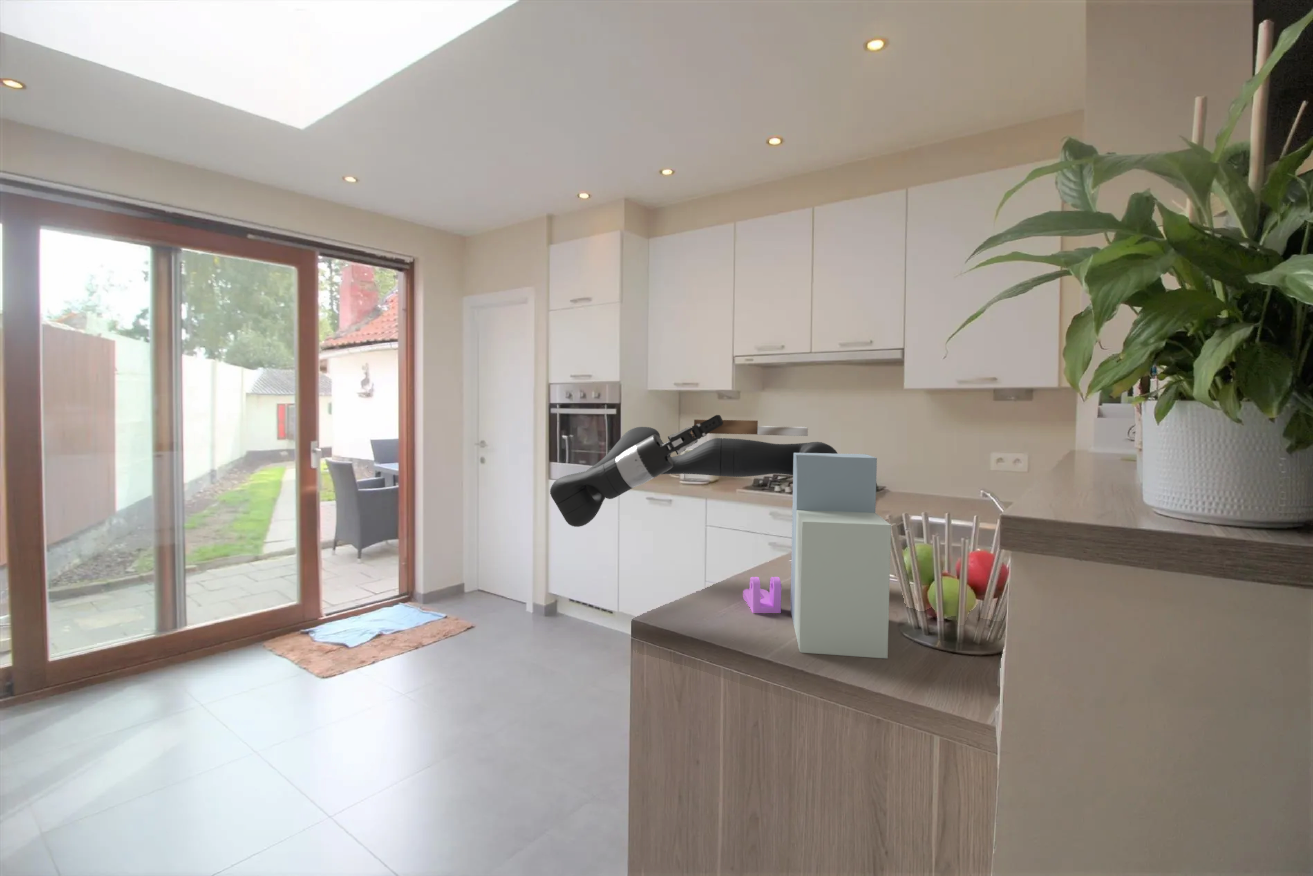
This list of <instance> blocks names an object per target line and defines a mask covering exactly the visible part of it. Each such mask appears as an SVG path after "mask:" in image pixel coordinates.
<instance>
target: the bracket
mask: <svg viewBox="0 0 1313 876" xmlns="http://www.w3.org/2000/svg"><path fill="white" fill-rule="evenodd" d="M781 581H782V580H781V579H780V577H779V576H770V578H769V591H768V590H767V589H764V588H761V581H760V577H759V576H750V578H749V588H744V589H743V590H742V598H743V601H744V602H745V601H746V602H747V603H746V602H745V603H746V605H747V604H748V605H747V606H749V607H750V608H749V607H748V608H749V610H750V609H751V610H750V611H751V613H752V614H753V613H781V612H782V611H781V610H782V609H781V607H782V582H781ZM760 597H761V598H760Z"/></svg>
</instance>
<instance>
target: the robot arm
mask: <svg viewBox="0 0 1313 876" xmlns="http://www.w3.org/2000/svg"><path fill="white" fill-rule="evenodd" d="M705 420H706V421H704V422H703V423H701V424H702V425H701V424H696V425H695V426H694V425H692V426H691V427H688V426H687V427H685V428H683V429H682V430H680V431H678V432H674V433H672V434H670V435H669V436H667V438H668V441H666V442H664V441H663V440H662V439H661V434H660V433H659V431H658V430H657V429H655V428H653V427H649V426H638V427H634V428H630V429H629V430H628V431H626V432H625V433H624V434H623V435H622V436H621V437H620V438H619V440H618V441H617V442H616V443H615V445H614V446H613V447H612V448H611V449H610V450H609V451H608V452H607V454H606V455H605V456H604V457H603V458H601V460H599V461H597V462H596V463H595V464H594V465H592V466H591V467H589V468H588V469H587V470H584V471H580V472H576V473H572V474H566V475H564V476H560V477H559V478H557V479H556V480H555V481H554V482H553V483H552V485H551V487H550V489H549V493H550V497H551V498H552V500H553V501H554V503H555V505H556V507H557V509H558V511H559V512H560V513H561V515H562V518H564V520H565V522H566V524H568V525H569V526H571V527H574V528H575V527H576V528H581V527H584V526H586V525H588V524H589V523H590V522H591V521H592V520H593V519H594V518H595V517H596V516H597V514H598V513H599V511H600V509H601V507H602V505H603V504H604V501H605V499H607V500H612V499H615V498H617V497H619V496H620V495H623V494H624V493H626V492H628V491H631V490H632V489H634V488H635V487H638V486H641V485H644V484H646V483H647V482H649V481H651V480H653V479H655V478H657V477H658V476H660V475H700V476H701V475H702V476H704V475H705V476H713V477H714V476H715V477H732V478H733V477H734V478H741V477H742V478H743V477H747V478H748V477H756V476H766V475H785V476H793V459H794V453H831V454H839V453H838V452H837V450H836V449H835V448H834V447H833V446H831V445H830V444H827V443H825V442H822V441H812V442H802V443H772V442H765V441H759V440H753V439H752V440H751V439H746V438H745V439H743V438H742V439H741V438H729V437H728V438H727V437H725V438H724V437H723V438H722V437H717V438H716V437H715V438H711V439H709V440H706V441H705V442H703V443H700V444H699V445H698V446H696V447H693V449H691V450H689V451H687V452H685V451H686V450H687V449H688V448H689V447H691V446H694V445H695V444H697V443H698V441H699V440H700V439H702V438H704V437H706V436H707V435H708V434H710V433H709V432H710V431H712V430H714V429H716V428H718V427H720V426H721V425H723V422H722V420H723V418H722V416H721V415H720V414H716V415H713V416H711V417H710V418H708V419H705ZM705 432H706V433H705ZM683 452H685V453H683ZM673 453H676V455H675V456H671V455H672V454H673ZM679 454H680V455H679Z"/></svg>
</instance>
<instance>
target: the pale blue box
mask: <svg viewBox="0 0 1313 876" xmlns="http://www.w3.org/2000/svg"><path fill="white" fill-rule="evenodd" d="M877 462H878V458H877V457H876V456H872V455H869V454H866V453H838V454H831V453H794V459H793V475H792V508H791V509H792V511H791V513H792V515H791V516H792V519H791V521H792V523H791V556H790V557H791V564H790V565H791V566H790V571H791V572H790V607H789V608H790V610H789V611H790V614H791V619H792V623H793V627H794V628H793V629H794V632H795V637H796V641H797V645H798V646H797V648H798V650H799V651H798V653H802V654H815V655H816V654H817V655H818V654H819V655H830V656H831V655H832V656H846V657H858V658H859V657H861V658H874V659H889V657H888V652H889V651H888V650H889V617H890V582H891V581H890V580H891V579H890V578H891V575H890V574H891V546H892V545H891V544H892V543H891V539H892V524H891V523H890V522H888V521H887V520H885V519H884V518H883V517H882V516H881V515H879V514H878V513H877V512H876V507H877V505H876V503H877V501H876V500H877V469H878V468H877V467H878V466H877V465H878V463H877Z"/></svg>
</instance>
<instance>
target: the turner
mask: <svg viewBox="0 0 1313 876" xmlns="http://www.w3.org/2000/svg"><path fill="white" fill-rule="evenodd" d="M706 420H707V419H693V426H695V425H696V424H701V423H703V422H704V421H706ZM722 422H723V425H721V426H720V427H718V428H716V429H714V430H712V431H710V432H709V433H708V434H711V435H712V434H713V435H714V434H715V435H719V434H720V435H723V434H725V435H758V436H789V437H790V436H791V437H792V436H793V437H795V436H796V437H808V435H809V432H808V430H809V427H806V426H784V425H783V426H777V425H776V426H773V425H772V426H771V425H758V424H759V422H758V420H753V419H752V420H751V419H750V420H747V419H746V420H744V419H740V420H739V419H738V420H737V419H722ZM701 425H702V424H701ZM705 433H706V432H705Z"/></svg>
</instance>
